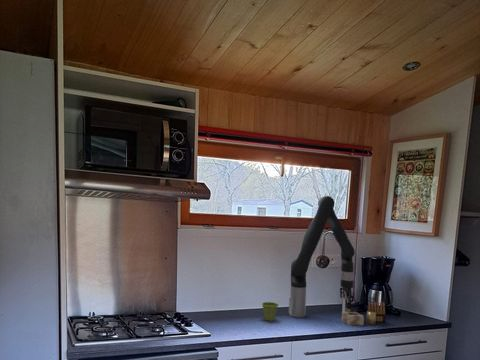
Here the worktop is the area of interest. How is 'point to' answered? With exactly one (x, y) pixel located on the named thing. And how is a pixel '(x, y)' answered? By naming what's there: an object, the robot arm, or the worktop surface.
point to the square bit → (345, 306)
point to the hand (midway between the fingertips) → (346, 307)
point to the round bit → (371, 318)
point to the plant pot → (269, 310)
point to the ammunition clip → (378, 312)
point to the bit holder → (352, 318)
